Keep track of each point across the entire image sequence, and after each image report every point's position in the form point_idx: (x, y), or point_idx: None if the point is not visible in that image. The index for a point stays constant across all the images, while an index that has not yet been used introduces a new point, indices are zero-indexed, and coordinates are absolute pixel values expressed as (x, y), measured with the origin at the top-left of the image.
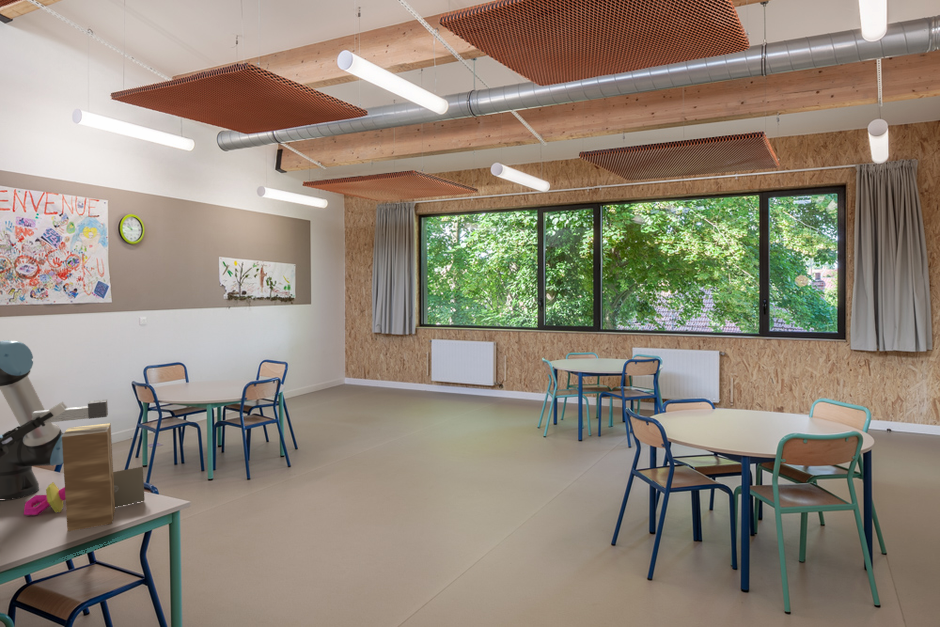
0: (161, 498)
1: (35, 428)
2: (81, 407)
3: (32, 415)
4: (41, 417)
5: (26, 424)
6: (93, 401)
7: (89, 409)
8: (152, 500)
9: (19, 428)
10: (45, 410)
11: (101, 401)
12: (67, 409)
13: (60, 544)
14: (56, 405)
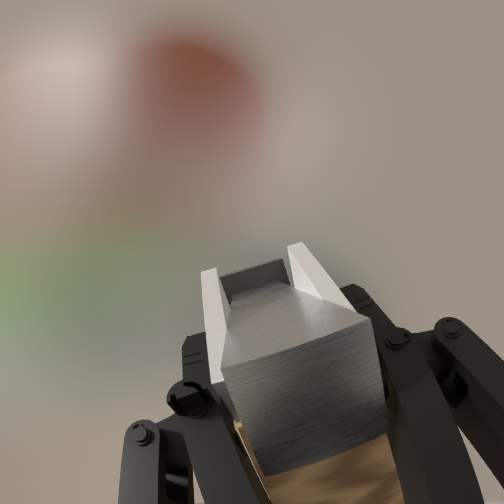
0: (261, 482)
1: (460, 378)
2: (254, 291)
3: (373, 346)
4: (383, 327)
5: (452, 421)
6: (237, 271)
7: (289, 283)
8: (265, 490)
9: (479, 490)
10: (242, 330)
11: (255, 265)
12: (283, 290)
13: (484, 501)
14: (218, 291)
